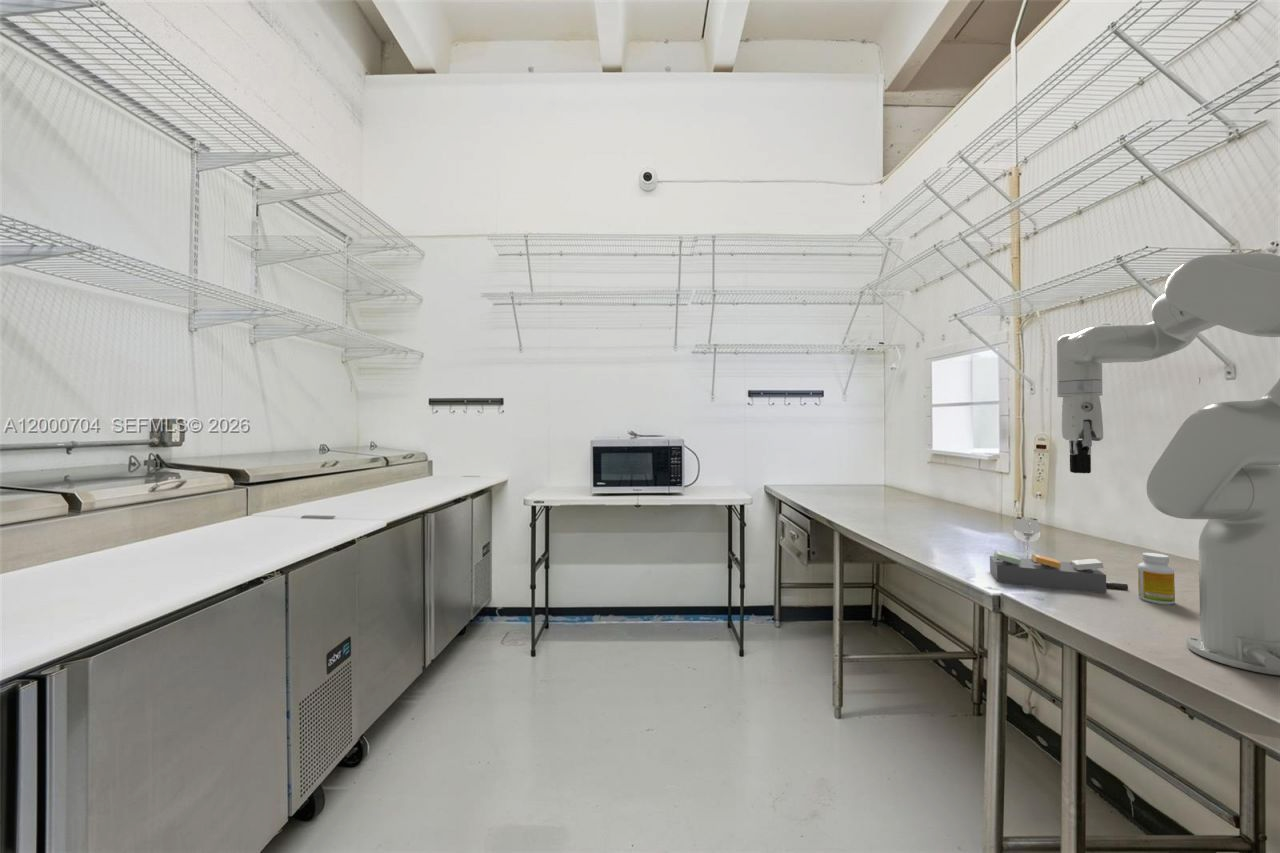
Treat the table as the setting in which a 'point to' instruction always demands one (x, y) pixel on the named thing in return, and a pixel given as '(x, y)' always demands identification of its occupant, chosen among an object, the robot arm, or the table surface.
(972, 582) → the table surface
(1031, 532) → the wineglass
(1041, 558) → the orange white-striped slab
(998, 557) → the green rocker
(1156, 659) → the table surface
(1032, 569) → the power strip
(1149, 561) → the supplement bottle
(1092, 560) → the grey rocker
